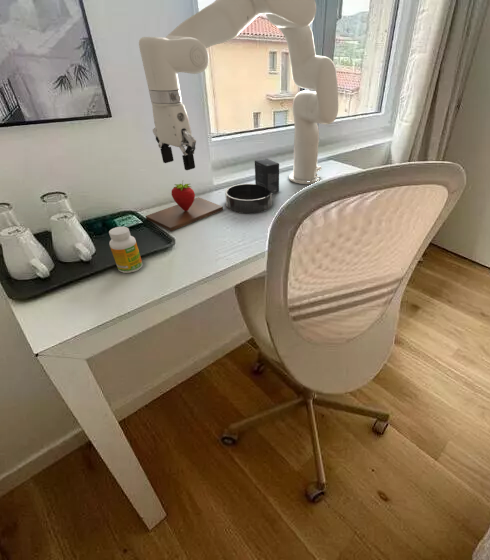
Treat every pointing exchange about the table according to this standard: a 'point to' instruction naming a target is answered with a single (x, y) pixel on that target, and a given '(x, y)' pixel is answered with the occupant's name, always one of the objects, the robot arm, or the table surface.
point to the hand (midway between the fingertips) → (179, 165)
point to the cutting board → (184, 214)
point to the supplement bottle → (124, 250)
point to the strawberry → (183, 196)
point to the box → (267, 174)
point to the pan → (248, 198)
